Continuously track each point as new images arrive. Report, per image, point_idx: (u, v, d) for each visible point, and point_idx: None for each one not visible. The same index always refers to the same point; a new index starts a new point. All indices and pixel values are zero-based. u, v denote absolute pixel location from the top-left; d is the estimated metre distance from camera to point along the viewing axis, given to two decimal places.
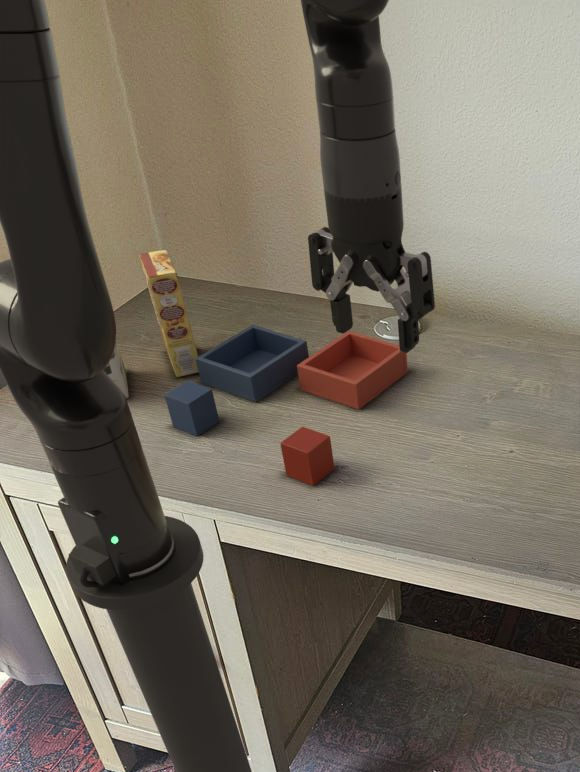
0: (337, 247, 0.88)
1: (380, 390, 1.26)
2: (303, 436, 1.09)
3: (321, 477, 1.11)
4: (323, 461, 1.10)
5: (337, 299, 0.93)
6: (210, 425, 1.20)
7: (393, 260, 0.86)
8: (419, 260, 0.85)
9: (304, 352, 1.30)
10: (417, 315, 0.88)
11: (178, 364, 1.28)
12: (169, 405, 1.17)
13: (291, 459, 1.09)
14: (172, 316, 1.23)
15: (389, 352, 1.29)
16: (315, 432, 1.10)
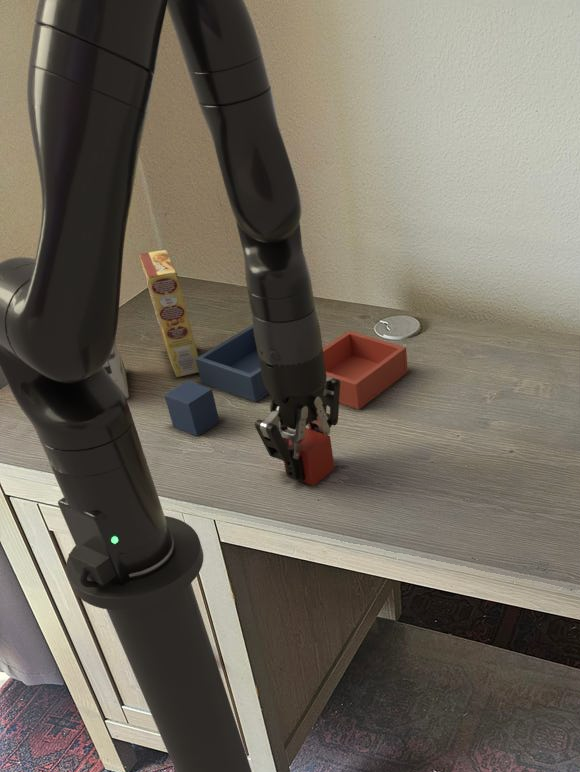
0: None
1: (380, 390, 1.26)
2: None
3: (321, 477, 1.11)
4: (323, 461, 1.10)
5: None
6: (210, 425, 1.20)
7: None
8: (259, 426, 1.01)
9: None
10: None
11: (178, 364, 1.28)
12: (169, 405, 1.17)
13: None
14: (172, 316, 1.23)
15: (389, 352, 1.29)
16: (315, 432, 1.10)
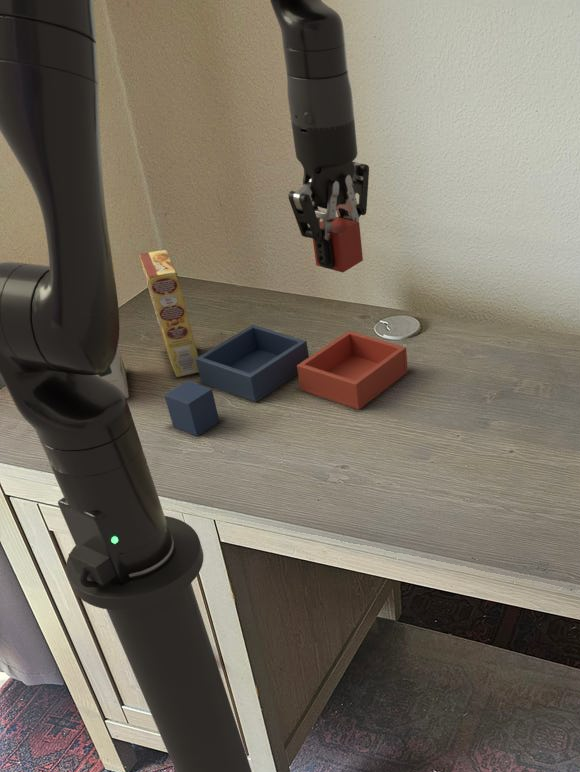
0: None
1: (380, 390, 1.26)
2: (333, 222, 1.12)
3: (350, 265, 1.14)
4: (353, 248, 1.13)
5: None
6: (210, 425, 1.20)
7: None
8: (293, 196, 1.04)
9: (304, 352, 1.30)
10: None
11: (178, 364, 1.28)
12: (169, 405, 1.17)
13: None
14: (172, 316, 1.23)
15: (389, 352, 1.29)
16: (344, 219, 1.13)
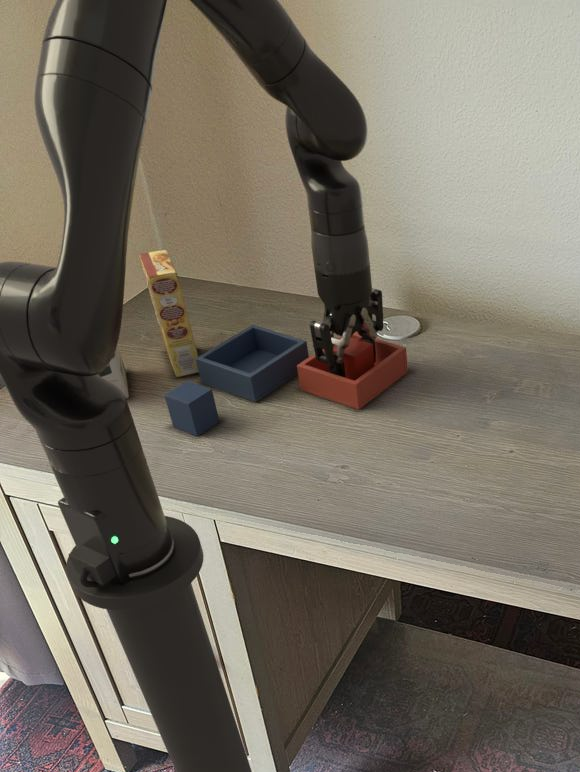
0: None
1: (380, 390, 1.26)
2: (349, 344, 1.25)
3: None
4: (367, 366, 1.26)
5: (362, 338, 1.28)
6: (210, 425, 1.20)
7: None
8: (314, 324, 1.17)
9: (304, 352, 1.30)
10: None
11: (178, 364, 1.28)
12: (169, 405, 1.17)
13: None
14: (172, 316, 1.23)
15: (389, 352, 1.29)
16: (359, 341, 1.26)
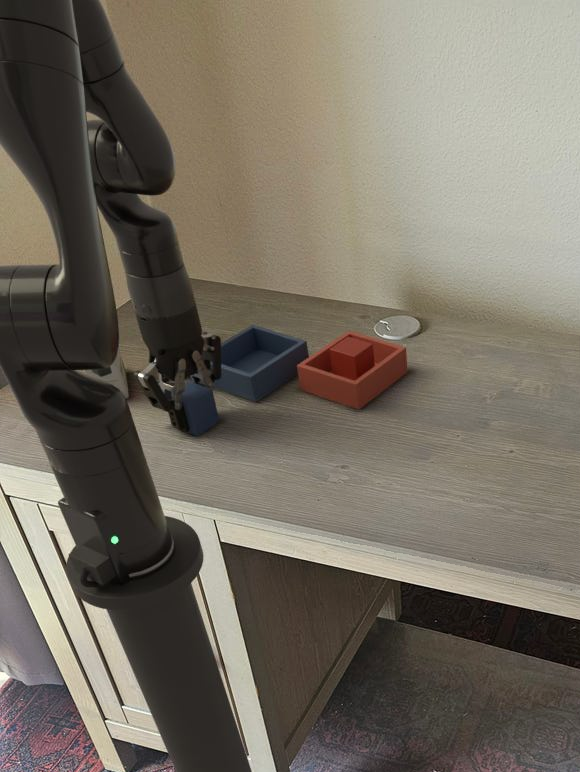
0: None
1: (380, 390, 1.26)
2: (349, 344, 1.25)
3: None
4: (367, 366, 1.26)
5: None
6: (210, 425, 1.20)
7: None
8: (137, 376, 1.09)
9: (304, 352, 1.30)
10: None
11: None
12: None
13: (339, 364, 1.25)
14: None
15: (389, 352, 1.29)
16: (359, 341, 1.26)
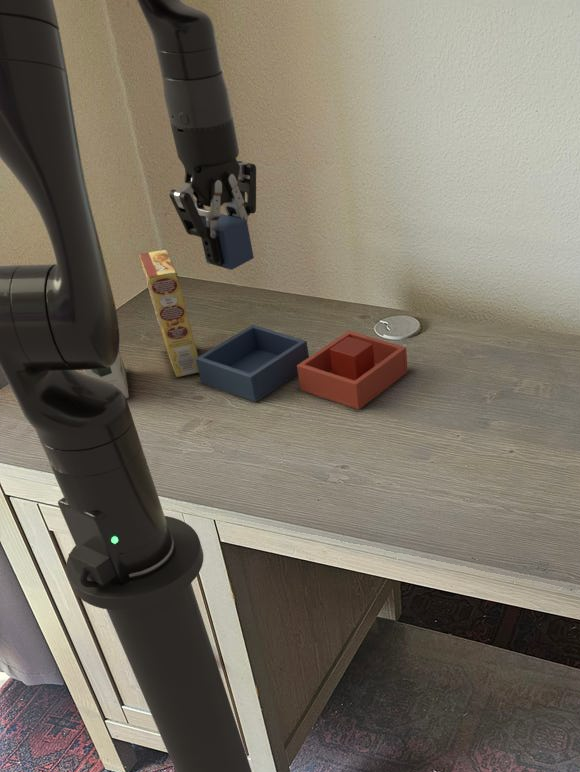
0: None
1: (380, 390, 1.26)
2: (349, 344, 1.25)
3: None
4: (367, 366, 1.26)
5: None
6: (244, 260, 1.17)
7: None
8: (173, 194, 1.06)
9: (304, 352, 1.30)
10: None
11: (178, 364, 1.28)
12: None
13: (339, 364, 1.25)
14: (172, 316, 1.23)
15: (389, 352, 1.29)
16: (359, 341, 1.26)
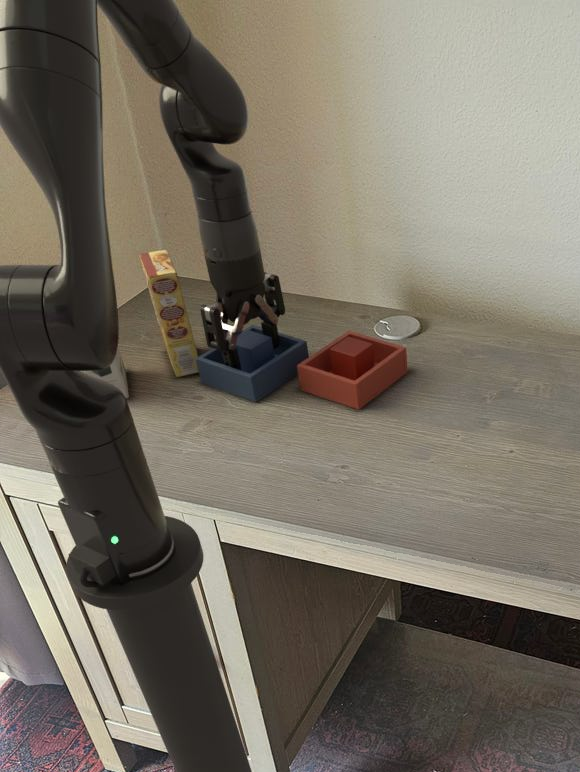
0: None
1: (380, 390, 1.26)
2: (349, 344, 1.25)
3: None
4: (367, 366, 1.26)
5: (264, 322, 1.28)
6: None
7: None
8: (204, 308, 1.17)
9: (304, 352, 1.30)
10: None
11: (178, 364, 1.28)
12: None
13: (339, 364, 1.25)
14: (172, 316, 1.23)
15: (389, 352, 1.29)
16: (359, 341, 1.26)
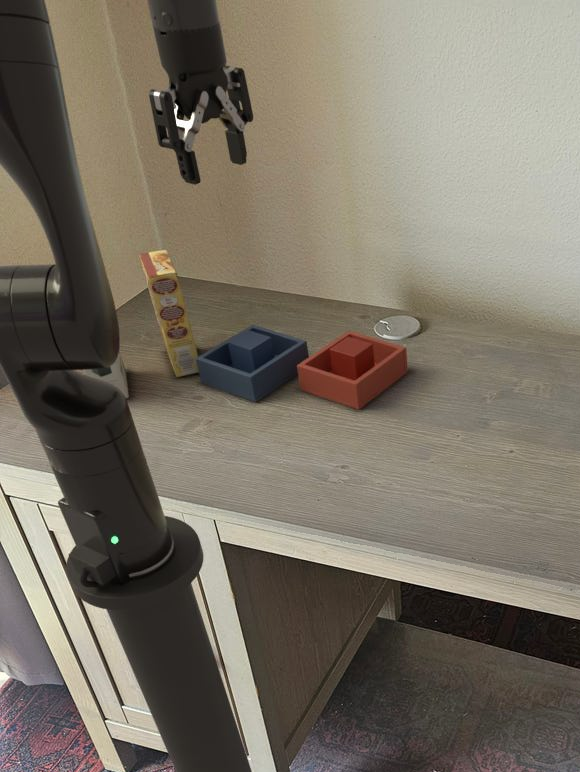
0: None
1: (380, 390, 1.26)
2: (349, 344, 1.25)
3: None
4: (367, 366, 1.26)
5: (228, 130, 1.10)
6: None
7: None
8: (153, 92, 0.99)
9: (304, 352, 1.30)
10: None
11: (178, 364, 1.28)
12: (231, 352, 1.27)
13: (339, 364, 1.25)
14: (172, 316, 1.23)
15: (389, 352, 1.29)
16: (359, 341, 1.26)
